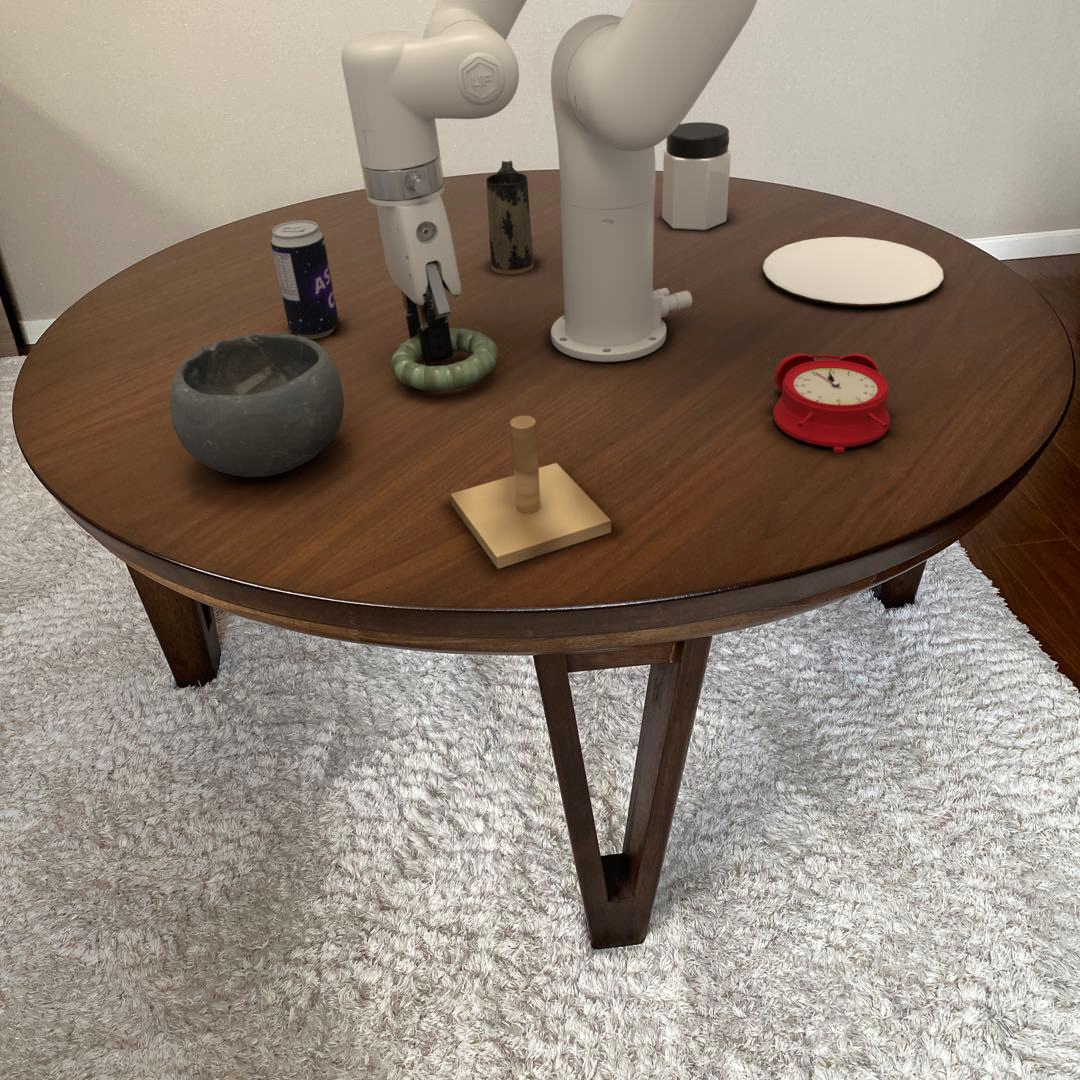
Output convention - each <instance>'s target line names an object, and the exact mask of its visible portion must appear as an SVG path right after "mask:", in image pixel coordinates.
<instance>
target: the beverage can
mask: <svg viewBox="0 0 1080 1080" xmlns="http://www.w3.org/2000/svg"><path fill="white" fill-rule="evenodd" d="M271 233H272V237H271V240H270V246H271V250H272V255H273V260H274V265H275V269H276V274H277V279H278V283H279V288H280V293H281V298H282V302H283V307H284V312H285V316H286V322H287V326H288V329H289V330H290V331H291V332H292V333H293V334H295V335H296V336H301V337H305V338H307V339H309V340H315V339H320V338H324V337H327V336H329V335H330V334H331V333H333V331H334V329H335V328H336V326H337V325H338V324H339V322H340V320H339V315H338V309H337V303H336V299H335V292H334V287H333V281H332V277H331V276H332V275H331V271H330V265H329V264H330V263H329V259H328V254H327V247H326V242H325V238H324V235H323V233H322V232H321V231H320V229H319V225H318V223H317V222H315V221H312V220H304V219H303V220H301V219H300V220H291V221H286V222H282V223H280V224H278V225H276V226H274V227H273V228H272V230H271Z"/></svg>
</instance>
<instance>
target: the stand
mask: <svg viewBox="0 0 1080 1080" xmlns="http://www.w3.org/2000/svg"><path fill="white" fill-rule="evenodd" d="M509 426H510V439H511V442H510V443H511V454H512V468H513V475H510V476H507V477H503V478H500V479H496V480H493V481H490V482H486V483H483V484H479V485H476V486H473V487H469V488H466V489H463V490H459V491H456V492H452V493H450V495H449V496H450V504H451V506H452V508H453V510H454V511H455V513H456V514H457V515H458V516H459V518H460V519H461V520H462V522H463V523H464V524H465V526H466V527H467V529H468V530H469V531H470V533H471V534H472V535H473V537H474V538H475V539H476V541H477V543H478V544H479V545H480V546H481V548H482V550H483V551H484V552H485V554H486V555H487V556H488V558H489V559H490V560H491V562H492V563H493V564H494V566H495V567H496V569H497V570H499V569H502V568H505V567H508V566H511V565H514V564H518V563H521V562H523V561H527V560H529V559H534V558H536V557H539V556H542V555H545V554H549V553H551V552H555V551H558V550H561V549H565V548H567V547H570V546H573V545H576V544H579V543H583V542H585V541H589V540H592V539H594V538H595V539H596V538H599V537H601V536H604V535H608V534H611V533H612V520H611V519H610V518H609V517H608V516H607V515H606V513H604V511H602V509H601V508H600V507H599V506H598V505H597V504H596V503H595V502H594V501H593V500H592V499H591V498H590V497H589V495H588V494H586V492H585V491H584V490H583V489H582V488H581V487H580V486H579V485H578V484H577V483H576V482H575V481H574V480H573V478H572V477H571V476H570V475H569V474H568V473H567V471H565V470H564V469H563V468H562V466H560V465H559V463H557V462H555V463H551V464H548V465H544V466H541V467H539V455H538V454H539V453H538V452H539V451H538V438H537V437H538V435H537V421H536V419H535V418H534V417H533V416H530V415H518V416H515V417H513V418H511V420H510V421H509Z"/></svg>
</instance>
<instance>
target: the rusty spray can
mask: <svg viewBox="0 0 1080 1080" xmlns="http://www.w3.org/2000/svg"><path fill="white" fill-rule="evenodd" d="M513 165H514V164H513V160H508V161H504V160H502V161H501V167H500V168H499V170H498V171H497V172H496V173H495V174H492V175H489V176H488V177H486V201H487V217H488V236H489V238H488V239H489V253H490V268H491V269H490V270H492V271H493V272H494V273H497V274H501V275H519V274H524V273H526V272H529V271H531V270H532V269H533V268H534V266H535V261H534V250H533V249H534V248H533V238H532V237H533V236H532V225H531V223H532V222H531V210H530V199H529V198H530V197H529V184H528V176H527V175H526V174H523V173H519V172H518V171H517V170H516V169H515V168H514V166H513Z"/></svg>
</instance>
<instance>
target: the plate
mask: <svg viewBox="0 0 1080 1080" xmlns="http://www.w3.org/2000/svg"><path fill="white" fill-rule="evenodd" d="M762 271H763V273H764V276H765V278H766V279H767V281H769V282H771V283H772V284H773V285H774V286H775V287H776V288H778V289H780V290H782V291H783V292H786V293H788V294H790V295H792V296H796V297H800V298H803V299H806V300H810V301H811V302H812V301H813V302H818V303H825V304H831V305H835V306H851V307H876V306H877V307H878V306H889V305H895V304H896V305H897V304H902V303H907V302H911V301H914V300H917V299H921V298H924V297H925V296H927V295H929V294H930V293H932V292H934V291H936V290H937V289H939V287H940V285H941V284H942V282H943V281H944V279H945V278H944V269H943V268H942V266H941V265H940V264H939V263H938V262H937V260H936V259H935V258H933V257H931V256H930V255H928V254H926V253H924V252H923V251H921V250H918V249H916V248H913V247H910V246H907V245H905V244H901V243H897V242H892V241H888V240H884V239H883V240H882V239H877V238H868V237H856V236H834V237H833V236H832V237H831V236H830V237H829V236H828V237H818V238H811V239H804V240H800V241H797V242H792V243H790V244H786V245H784V246H782V247H780V248H778V249H775V250H774V251H772V252H771V254H769V255H768V256H767V257H766V258H765V259H764V262H763V265H762Z"/></svg>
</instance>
